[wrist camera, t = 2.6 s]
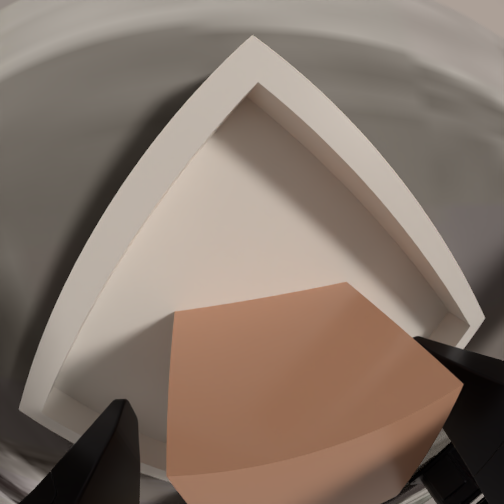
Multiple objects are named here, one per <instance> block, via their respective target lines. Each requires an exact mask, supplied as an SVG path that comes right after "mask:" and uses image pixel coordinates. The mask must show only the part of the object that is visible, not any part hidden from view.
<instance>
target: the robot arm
mask: <svg viewBox="0 0 504 504" xmlns="http://www.w3.org/2000/svg"><path fill="white" fill-rule="evenodd" d="M413 339H414V340H415V341H417V342H418V343H419V344H420V345H421V346H422V347H423V348H425V349H426V350H427V351H428V352H429V353H430V354H431V355H432V356H433V357H435V358H436V359H437V360H438V361H439V362H440V363H441V364H442V365H443V366H445V367H446V368H447V369H448V370H449V371H450V372H451V373H452V374H453V375H454V376H455V377H456V378H458V379H459V380H460V381H461V382H462V383H463V384H464V385H463V387H462V389H461V391H460V393H459V396H458V398H457V400H456V402H455V404H454V406H453V408H452V410H451V412H450V414H449V416H448V418H447V420H446V422H445V423H444V425H443V427H442V428H443V429H444V431H445V432H446V434H447V436H448V437H449V439H450V440H451V442H452V444H451V445H450V446H449V447H448V448H447V449H446V450H445V451H444V452H443V453H442V454H441V455H439V456H438V457H437V458H436V459H435V460H434V461H433V462H431V463H430V464H429V465H428V466H427V467H426V468H424V469H423V470H422V471H421V472H419V473H418V474H417V475H416V476H414V477H413V478H412V479H411V480H409V484H410V485H414V484H422V483H423V484H424V486H425V487H426V489H427V490H428V492H429V493H430V495H431V496H432V497H433V499H434V500H435V502H436V503H437V504H470V503H472V502H473V501H474V500H475V499H477V498H478V497H479V496H480V495H481V494H483V495H484V497H483V498H482V499H481V500H480V501H479V502H477V503H476V504H504V361H502V360H499V359H496V358H492V357H489V356H485V355H481V354H478V353H474V352H471V351H467V350H464V349H460V348H457V347H454V346H450V345H447V344H443V343H440V342H437V341H433V340H430V339H427V338H423V337H420V336H415V337H413ZM139 497H140V449H139V429H138V419H137V416H136V414H135V412H134V410H133V408H132V406H131V404H130V402H129V401H128V400H127V399H114V400H113V401H112V402H111V403H110V404H109V405H108V407H107V408H106V409H105V410H104V411H103V412H102V413H101V415H100V416H99V417H98V418H97V419H96V420H95V421H94V422H93V424H92V425H91V426H90V427H89V428H88V429H87V430H86V431H85V433H84V434H83V435H82V436H81V437H80V438H79V439H78V440H77V442H76V443H75V444H74V445H73V446H72V447H71V448H70V450H69V451H68V452H67V453H66V454H65V455H64V456H63V458H62V459H61V460H60V461H59V462H58V463H57V464H56V465H55V467H54V468H53V469H52V470H51V472H49V473H48V474H47V476H46V477H45V478H44V479H43V480H42V481H41V482H40V483H39V484H38V485H37V487H36V488H35V489H34V490H33V491H32V492H30V493H29V494H28V495H27V496H26V497H25V498H24V499H23V500H22V501H21V502H20V503H18V504H139Z"/></svg>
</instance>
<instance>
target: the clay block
mask: <svg viewBox="0 0 504 504" xmlns="http://www.w3.org/2000/svg"><path fill="white" fill-rule="evenodd" d="M463 385H464V384H463V383H462V382H461V381H460V380H459V379H458V378H456V377H455V376H454V375H453V374H452V373H451V372H450V371H449V370H448V369H447V368H446V367H445V366H443V365H442V364H441V363H440V362H439V361H438V360H437V359H436V358H435V357H433V356H432V355H431V354H430V353H429V352H428V351H427V350H426V349H425V348H423V347H422V346H421V345H420V344H419V343H418V342H417V341H415V340H414V339H413V338H412V337H411V336H410V335H409V334H408V333H406V332H405V331H404V330H403V329H402V328H401V327H399V326H398V325H397V324H396V323H395V322H394V321H393V320H391V319H390V318H389V317H388V316H387V315H386V314H384V313H383V312H382V311H381V310H380V309H379V308H377V307H376V306H375V305H374V304H373V303H371V302H370V301H369V300H368V299H367V298H365V297H364V296H363V295H362V294H361V293H360V292H358V291H357V290H356V289H355V288H354V287H352V286H351V285H350V284H349V283H347V282H342V283H338V284H333V285H328V286H323V287H318V288H313V289H308V290H302V291H297V292H292V293H287V294H281V295H276V296H270V297H264V298H259V299H253V300H247V301H241V302H235V303H229V304H222V305H216V306H209V307H203V308H196V309H189V310H182V311H175V313H174V323H173V334H172V345H171V357H170V371H169V388H168V409H167V446H166V476H167V478H168V479H169V481H170V482H171V483H172V485H173V486H174V487H175V489H176V490H177V491H178V493H179V494H180V495H181V496H182V498H183V499H184V500H185V501H186V503H187V504H381V503H383V502H385V501H388V500H390V499H392V498H394V497H396V496H397V495H398V494H399V493H400V491H401V490H402V489H403V487H404V486H405V485H406V483H407V482H408V481H409V479H410V478H411V476H412V475H413V474H414V472H415V471H416V469H417V468H418V466H419V465H420V463H421V462H422V460H423V459H424V457H425V456H426V454H427V453H428V451H429V449H430V448H431V446H432V444H433V443H434V441H435V439H436V438H437V436H438V434H439V432H440V431H441V429H442V427H443V425H444V423H445V422H446V420H447V418H448V416H449V414H450V412H451V410H452V408H453V406H454V404H455V402H456V400H457V398H458V396H459V393H460V391H461V389H462V387H463Z"/></svg>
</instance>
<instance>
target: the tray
mask: <svg viewBox="0 0 504 504" xmlns="http://www.w3.org/2000/svg"><path fill="white" fill-rule="evenodd" d="M342 282H347V283H349V284H350V285H351V286H352V287H354V288H355V289H356V290H357V291H358V292H360V293H361V294H362V295H363V296H364V297H365V298H367V299H368V300H369V301H370V302H371V303H373V304H374V305H375V306H376V307H377V308H379V309H380V310H381V311H382V312H383V313H384V314H386V315H387V316H388V317H389V318H390V319H391V320H393V321H394V322H395V323H396V324H397V325H398V326H399V327H401V328H402V329H403V330H404V331H405V332H406V333H408V334H409V335H410V336H411V337H412V338H413V337H415V336H420V337H423V338H427V339H430V340H433V341H437V342H440V343H443V344H447V345H450V346H454V347H457V348H460V349H464V348H465V346H466V345H467V344H468V342H469V341H470V339H471V338H472V337H473V335H474V334H475V332H476V331H477V330H478V328H479V327H480V325H481V324H482V322H483V321H484V319H485V317H484V314H483V312H482V310H481V308H480V306H479V304H478V302H477V300H476V298H475V296H474V294H473V292H472V290H471V288H470V286H469V284H468V282H467V280H466V278H465V276H464V275H463V273H462V271H461V269H460V267H459V266H458V264H457V262H456V260H455V259H454V257H453V255H452V254H451V252H450V250H449V249H448V247H447V245H446V244H445V242H444V240H443V239H442V237H441V236H440V234H439V233H438V231H437V229H436V228H435V226H434V225H433V223H432V222H431V220H430V219H429V217H428V216H427V214H426V213H425V212H424V210H423V209H422V207H421V206H420V204H419V203H418V202H417V200H416V199H415V197H414V196H413V195H412V193H411V192H410V191H409V189H408V188H407V187H406V185H405V184H404V183H403V181H402V180H401V179H400V178H399V176H398V175H397V174H396V172H395V171H394V170H393V169H392V167H391V166H390V165H389V164H388V163H387V161H386V160H385V159H384V158H383V157H382V155H381V154H380V153H379V152H378V151H377V149H376V148H375V147H374V146H373V145H372V144H371V143H370V141H369V140H368V139H367V138H366V137H365V136H364V135H363V134H362V133H361V131H360V130H359V129H358V128H357V127H356V126H355V125H354V124H353V123H352V122H351V121H350V120H349V119H348V118H347V117H346V116H345V115H344V114H343V113H342V111H341V110H340V109H339V108H338V107H337V106H336V105H334V104H333V103H332V102H331V101H330V100H329V99H328V98H327V97H326V96H325V95H324V94H323V93H322V92H321V91H320V90H319V89H318V88H317V87H316V86H315V85H313V84H312V83H311V82H310V81H309V80H308V79H307V78H306V77H304V76H303V75H302V74H301V73H300V72H299V71H298V70H296V69H295V68H294V67H293V66H292V65H291V64H289V63H288V62H287V61H286V60H284V59H283V58H282V57H281V56H280V55H278V54H277V53H276V52H274V51H273V50H272V49H271V48H269V47H268V46H267V45H265V44H264V43H263V42H261V41H260V40H259V39H257V38H256V37H255V36H253V35H252V36H251V37H250V38H249V39H247V40H246V41H245V42H244V43H243V44H242V45H241V46H240V47H239V48H238V49H237V50H236V51H234V52H233V53H232V54H231V55H230V56H229V57H228V58H227V59H226V60H225V61H224V62H223V63H222V64H221V65H220V66H219V67H218V68H217V69H216V70H215V71H214V72H213V73H212V74H211V75H210V76H209V77H208V78H207V80H206V81H205V82H204V83H203V84H202V85H201V86H200V87H199V88H198V89H197V90H196V91H195V92H194V94H193V95H192V96H191V97H190V98H189V99H188V100H187V101H186V103H185V104H184V105H183V106H182V107H181V108H180V110H179V111H178V112H177V113H176V114H175V115H174V117H173V118H172V119H171V120H170V121H169V123H168V124H167V125H166V126H165V128H164V129H163V130H162V131H161V133H160V134H159V135H158V136H157V138H156V139H155V140H154V141H153V143H152V144H151V145H150V147H149V148H148V149H147V151H146V152H145V153H144V155H143V156H142V157H141V159H140V160H139V162H138V163H137V164H136V166H135V167H134V168H133V170H132V171H131V173H130V174H129V176H128V177H127V179H126V180H125V181H124V183H123V184H122V186H121V187H120V189H119V190H118V192H117V193H116V195H115V196H114V198H113V200H112V201H111V203H110V204H109V206H108V207H107V209H106V211H105V212H104V214H103V215H102V217H101V219H100V220H99V222H98V224H97V225H96V227H95V229H94V231H93V232H92V234H91V236H90V238H89V239H88V241H87V243H86V245H85V246H84V248H83V250H82V252H81V254H80V256H79V257H78V259H77V261H76V263H75V265H74V267H73V269H72V271H71V273H70V275H69V277H68V279H67V281H66V283H65V285H64V287H63V289H62V291H61V294H60V296H59V298H58V300H57V302H56V305H55V307H54V309H53V311H52V314H51V316H50V318H49V321H48V323H47V326H46V328H45V331H44V333H43V336H42V338H41V341H40V343H39V346H38V349H37V352H36V354H35V357H34V360H33V363H32V366H31V369H30V372H29V375H28V378H27V382H26V385H25V388H24V392H23V395H22V399H21V403H20V406H19V410H20V411H21V412H23V413H24V414H26V415H27V416H29V417H30V418H32V419H33V420H35V421H36V422H38V423H39V424H41V425H43V426H44V427H46V428H48V429H49V430H51V431H53V432H54V433H56V434H58V435H60V436H61V437H63V438H65V439H67V440H69V441H70V442H72V443H74V444H75V443H76V442H77V440H78V439H79V438H80V437H81V436H82V435H83V434H84V433H85V431H86V430H87V429H88V428H89V427H90V426H91V425H92V424H93V422H94V421H95V420H96V419H97V418H98V417H99V416H100V415H101V413H102V412H103V411H104V410H105V409H106V408H107V407H108V405H109V404H110V403H111V402H112V401H113V400H114V399H127V400H128V401H129V402H130V404H131V406H132V408H133V410H134V412H135V414H136V416H137V419H138V429H139V449H140V473H143V474H146V475H149V476H152V477H155V478H158V479H161V480H164V481H168V482H170V481H169V479H168V478H167V476H166V446H167V409H168V388H169V371H170V357H171V345H172V334H173V323H174V313H175V311H182V310H189V309H196V308H203V307H209V306H216V305H222V304H229V303H235V302H241V301H247V300H253V299H259V298H264V297H270V296H276V295H281V294H287V293H292V292H297V291H302V290H308V289H313V288H318V287H323V286H328V285H333V284H338V283H342Z"/></svg>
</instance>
